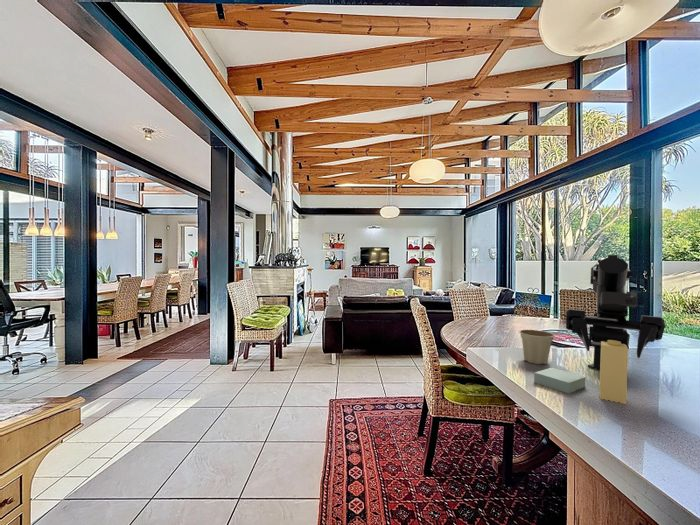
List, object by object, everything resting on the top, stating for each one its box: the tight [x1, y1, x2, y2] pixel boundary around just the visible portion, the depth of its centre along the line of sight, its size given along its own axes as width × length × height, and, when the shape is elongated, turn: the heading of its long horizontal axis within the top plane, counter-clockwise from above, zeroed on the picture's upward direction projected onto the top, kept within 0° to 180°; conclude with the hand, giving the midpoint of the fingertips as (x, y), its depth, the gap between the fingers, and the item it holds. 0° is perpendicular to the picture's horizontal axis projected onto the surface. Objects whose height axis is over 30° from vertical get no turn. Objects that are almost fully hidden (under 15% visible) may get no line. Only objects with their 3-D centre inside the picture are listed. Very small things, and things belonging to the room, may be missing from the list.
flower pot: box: [518, 329, 556, 365], centre depth 104 cm, size 9×9×9 cm
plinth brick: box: [533, 367, 586, 395], centre depth 85 cm, size 8×8×2 cm
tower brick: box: [598, 340, 629, 405], centre depth 77 cm, size 4×4×13 cm
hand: (612, 353), depth 79 cm, fingers open, 9 cm apart
